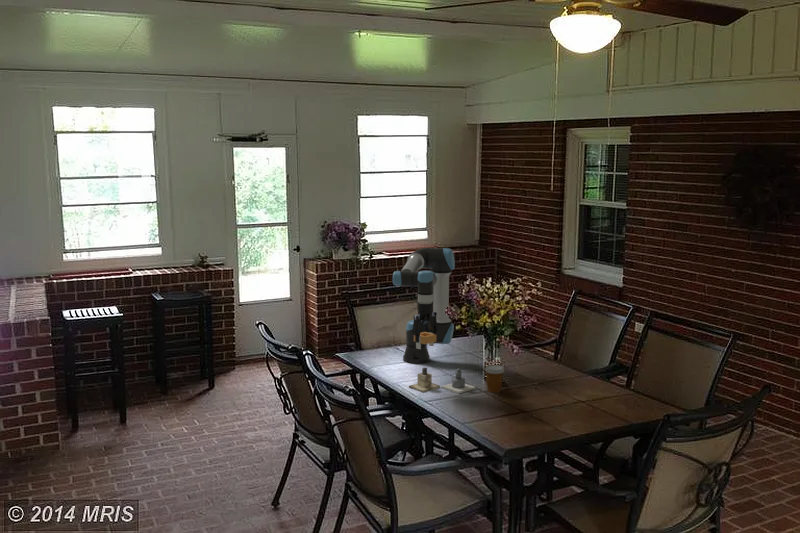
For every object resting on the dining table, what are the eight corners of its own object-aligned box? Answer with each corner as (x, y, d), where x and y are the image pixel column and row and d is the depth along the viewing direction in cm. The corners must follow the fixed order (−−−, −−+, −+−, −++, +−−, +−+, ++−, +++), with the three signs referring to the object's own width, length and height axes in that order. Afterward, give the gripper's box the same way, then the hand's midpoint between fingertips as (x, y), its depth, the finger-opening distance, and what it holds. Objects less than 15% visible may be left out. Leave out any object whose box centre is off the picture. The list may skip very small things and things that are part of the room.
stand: (426, 382, 377) (426, 364, 375) (440, 387, 369) (440, 368, 368) (408, 387, 369) (409, 368, 367) (422, 392, 361) (422, 372, 360)
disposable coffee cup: (503, 394, 359) (503, 370, 357) (483, 393, 361) (484, 369, 359) (504, 388, 368) (505, 365, 367) (485, 387, 370) (485, 364, 368)
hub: (458, 383, 376) (458, 364, 375) (475, 388, 367) (475, 369, 366) (441, 388, 369) (441, 368, 367) (458, 393, 360) (458, 374, 358)
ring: (425, 338, 371) (425, 331, 371) (436, 341, 365) (436, 334, 365) (413, 341, 366) (413, 334, 366) (424, 344, 360) (424, 337, 360)
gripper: (435, 298, 372) (434, 342, 376) (404, 303, 359) (404, 349, 362) (445, 300, 367) (445, 345, 370) (414, 306, 353) (414, 352, 357)
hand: (424, 347), depth 366 cm, fingers closed on ring, 8 cm apart
